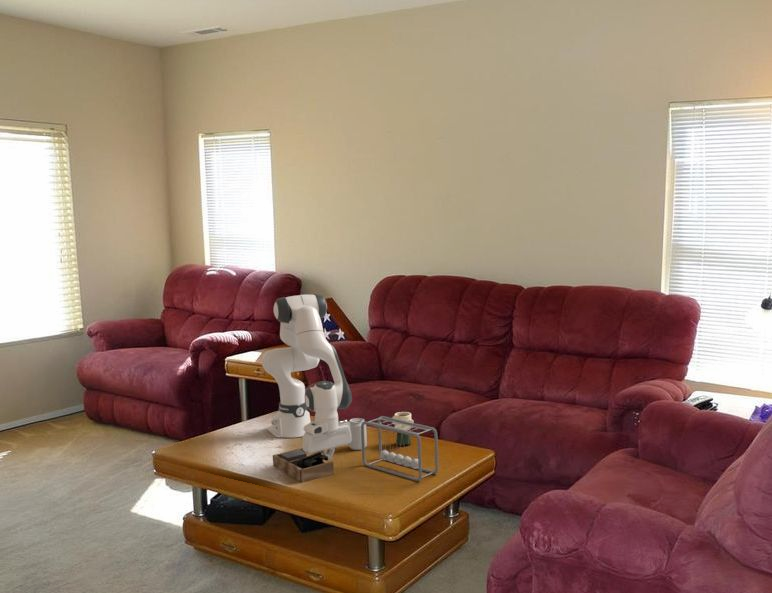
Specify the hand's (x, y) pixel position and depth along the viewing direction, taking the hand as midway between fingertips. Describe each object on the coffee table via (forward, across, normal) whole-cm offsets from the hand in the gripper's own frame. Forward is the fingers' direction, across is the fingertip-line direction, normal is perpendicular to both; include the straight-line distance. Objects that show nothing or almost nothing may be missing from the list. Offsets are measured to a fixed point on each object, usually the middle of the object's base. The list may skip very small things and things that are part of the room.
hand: (328, 459), depth 286 cm
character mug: (+4, -39, -4) cm, 40 cm away
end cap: (+4, +7, 0) cm, 8 cm away
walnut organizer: (+4, +8, -6) cm, 10 cm away
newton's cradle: (+4, -20, +19) cm, 28 cm away
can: (+4, -22, -13) cm, 26 cm away
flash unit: (+4, +9, -11) cm, 15 cm away
